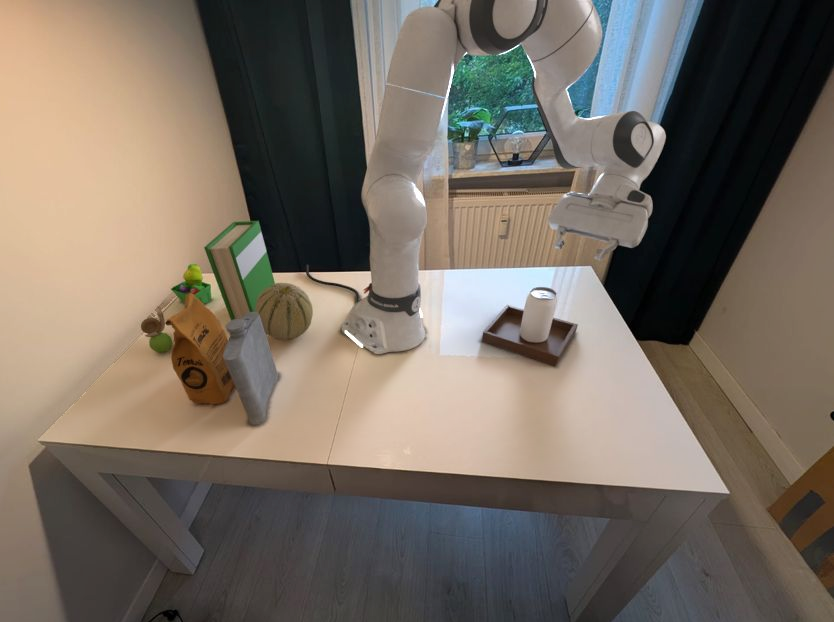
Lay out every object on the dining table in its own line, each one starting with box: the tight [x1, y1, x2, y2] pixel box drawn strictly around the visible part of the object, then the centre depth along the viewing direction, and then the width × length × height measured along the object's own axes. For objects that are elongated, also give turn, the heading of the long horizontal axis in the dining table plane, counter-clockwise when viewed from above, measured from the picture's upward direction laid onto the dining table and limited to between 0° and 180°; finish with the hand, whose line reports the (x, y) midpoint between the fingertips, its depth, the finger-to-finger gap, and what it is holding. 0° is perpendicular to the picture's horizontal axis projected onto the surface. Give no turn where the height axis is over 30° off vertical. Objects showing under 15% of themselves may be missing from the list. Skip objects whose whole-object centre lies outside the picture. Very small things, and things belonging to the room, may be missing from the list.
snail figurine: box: [140, 305, 174, 354], centre depth 98 cm, size 5×6×12 cm
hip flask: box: [223, 312, 280, 426], centre depth 78 cm, size 16×4×20 cm, turn 178°
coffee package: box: [165, 293, 236, 405], centre depth 81 cm, size 10×12×22 cm
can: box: [520, 286, 558, 343], centre depth 88 cm, size 6×6×12 cm
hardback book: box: [203, 220, 276, 321], centre depth 106 cm, size 18×7×24 cm, turn 172°
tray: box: [481, 304, 579, 367], centre depth 92 cm, size 18×15×3 cm
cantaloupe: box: [255, 282, 314, 341], centre depth 98 cm, size 15×15×15 cm
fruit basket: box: [170, 263, 212, 305], centre depth 119 cm, size 11×9×11 cm
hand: (576, 252), depth 87 cm, fingers open, 8 cm apart
